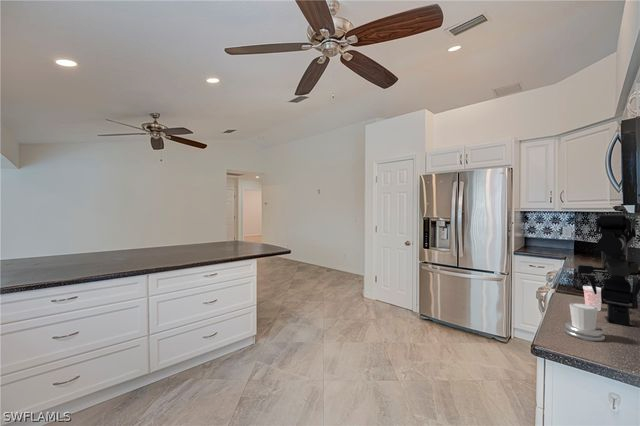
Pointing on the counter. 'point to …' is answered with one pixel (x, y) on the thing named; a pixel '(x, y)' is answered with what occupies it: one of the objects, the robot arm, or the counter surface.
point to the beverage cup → (592, 297)
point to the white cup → (583, 316)
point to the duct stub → (584, 333)
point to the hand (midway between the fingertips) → (614, 296)
